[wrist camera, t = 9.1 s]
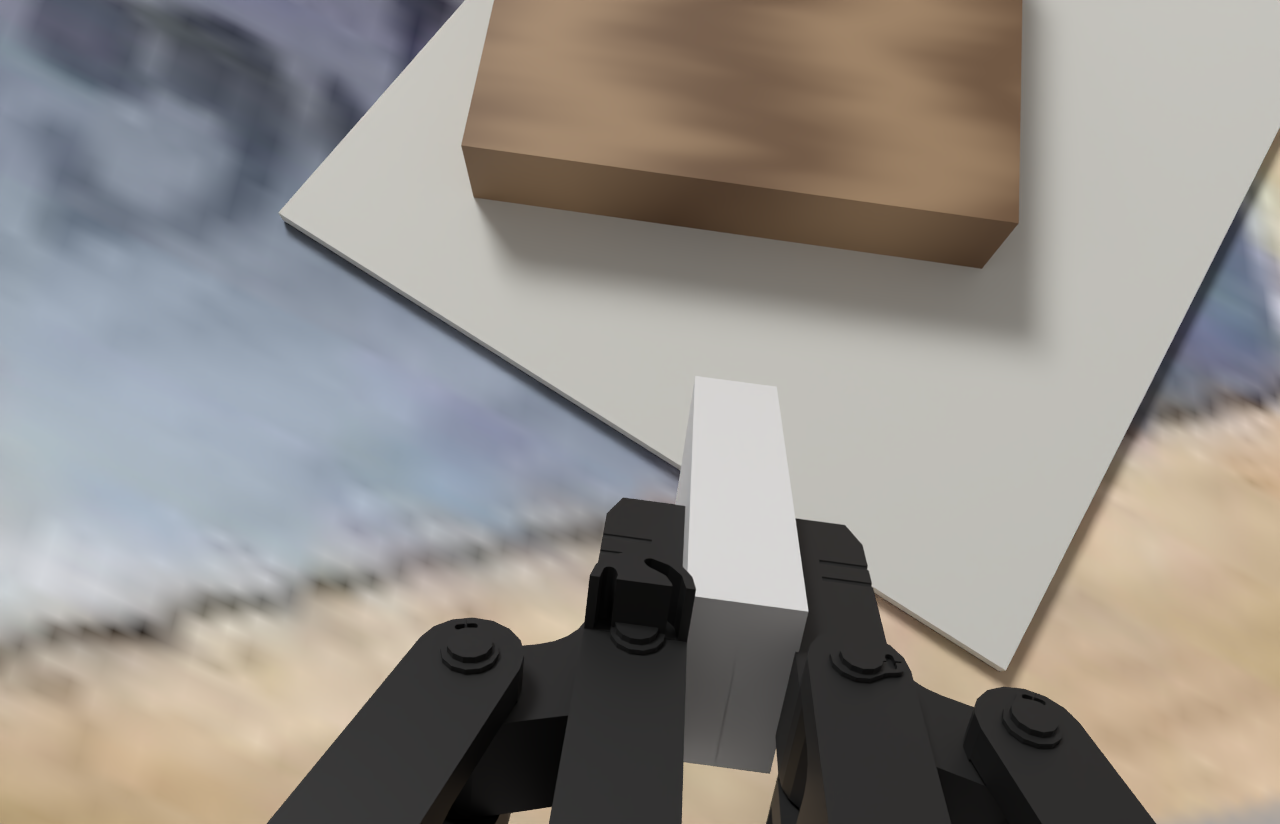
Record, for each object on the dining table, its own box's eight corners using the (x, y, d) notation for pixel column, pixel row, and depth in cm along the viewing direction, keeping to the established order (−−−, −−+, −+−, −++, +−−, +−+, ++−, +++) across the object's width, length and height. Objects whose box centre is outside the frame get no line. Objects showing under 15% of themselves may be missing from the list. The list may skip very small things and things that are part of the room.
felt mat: (283, 220, 27) (278, 212, 26) (734, -296, 34) (735, -308, 33) (999, 671, 24) (1006, 670, 23) (1338, 2, 31) (1347, -7, 30)
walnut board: (461, 145, 24) (536, -185, 28) (473, 197, 27) (540, -113, 30) (1018, 222, 24) (1024, -119, 28) (981, 268, 27) (991, -51, 30)
